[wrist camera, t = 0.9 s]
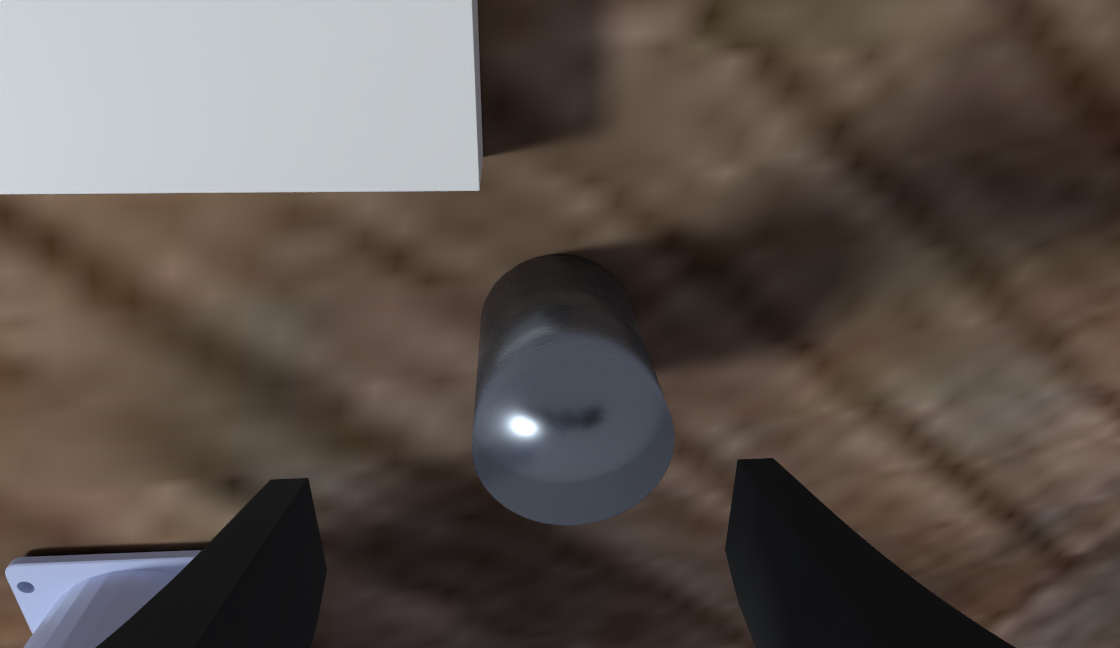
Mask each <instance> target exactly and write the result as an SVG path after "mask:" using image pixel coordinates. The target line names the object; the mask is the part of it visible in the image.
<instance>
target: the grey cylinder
mask: <svg viewBox="0 0 1120 648" xmlns="http://www.w3.org/2000/svg"><path fill="white" fill-rule="evenodd" d="M673 448H674V427H673V422H672V419H671V415H670V412H669V410H668V407H667V404H666V401H665V398H664V396H663V393H662V390H661V387H660V385H659V382H658V379H657V376H656V373H655V371H654V368H653V365H652V362H651V360H650V357H649V354H648V351H647V348H646V346H645V343H644V340H643V337H642V334H641V332H640V329H639V326H638V323H637V321H636V318H635V315H634V312H633V309H632V307H631V304H630V301H629V298H628V296H627V294H626V292H625V290H624V288H623V287H622V285H621V284H620V282H619V281H618V280H617V279H616V278H615V277H614V276H613V275H612V274H611V273H610V272H609V271H608V270H606V269H605V268H604V267H602V266H600V265H599V264H597V263H595V262H593V261H591V260H588V259H585V258H582V257H579V256H573V255H565V254H553V255H545V256H540V257H536V258H533V259H530V260H527V261H525V262H523V263H520V264H518V265H517V266H515V267H514V268H512V269H511V270H509V271H508V272H507V273H506V274H504V275H503V276H502V277H501V278H500V279H499V280H498V281H497V282H496V284H495V285H494V286H493V288H492V289H491V291H490V292H489V294H488V296H487V298H486V301H485V304H484V306H483V310H482V316H481V327H480V340H479V354H478V368H477V382H476V396H475V410H474V424H473V438H472V454H473V462H474V465H475V468H476V472H477V474H478V476H479V478H480V480H481V482H482V483H483V485H484V486H485V488H486V489H487V491H488V492H489V493H490V494H491V495H492V496H493V497H494V498H495V499H496V500H497V501H498V502H499V503H501V504H502V505H503V506H504V507H506V508H508V509H509V510H511V511H512V512H514V513H516V514H518V515H520V516H522V517H525V518H528V519H531V520H534V521H537V522H542V523H546V524H553V525H582V524H589V523H594V522H598V521H602V520H605V519H608V518H611V517H613V516H616V515H618V514H621V513H622V512H624V511H626V510H628V509H630V508H631V507H633V506H634V505H636V504H637V503H639V502H640V501H641V500H643V499H644V498H645V497H646V496H647V495H648V494H649V493H650V492H651V491H652V490H653V489H654V488H655V487H656V486H657V484H658V483H659V482H660V480H661V479H662V477H663V476H664V474H665V472H666V470H667V468H668V466H669V463H670V460H671V458H672V454H673Z"/></svg>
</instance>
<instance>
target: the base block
mask: <svg viewBox="0 0 1120 648" xmlns="http://www.w3.org/2000/svg"><path fill="white" fill-rule="evenodd" d="M482 163H483V141H482V113H481V86H480V59H479V32H478V5H477V0H0V194H87V193H225V192H363V191H479V189H480V180H481V172H482Z"/></svg>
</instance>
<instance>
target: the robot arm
mask: <svg viewBox="0 0 1120 648" xmlns="http://www.w3.org/2000/svg"><path fill="white" fill-rule="evenodd" d="M725 551H726V555H727V559H728V563H729V567H730V571H731V575H732V579H733V583H734V587H735V590H736V594H737V598H738V601H739V605H740V608H741V610H742V613H743V616H744V618H745V621H746V623H747V626H748V629H749V631H750V634H751V636H752V639H753V641H754V644H755V646H756V648H1015V647H1014V646H1012V645H1010V644H1008V643H1007V642H1005V641H1004V640H1002V639H1001V638H999V637H997V636H996V635H994V634H993V633H991V632H989V631H988V630H986V629H985V628H983V627H982V626H980V625H979V624H977V623H976V622H974V621H973V620H971V619H970V618H968V617H967V616H965V615H964V614H962V613H961V612H959V611H958V610H956V609H955V608H953V607H952V606H950V605H949V604H947V603H946V602H945V601H943V600H942V599H940V598H939V597H937V596H936V595H935V594H933V593H932V592H930V591H929V590H928V589H926V588H925V587H924V586H922V585H921V584H919V583H918V582H917V581H916V580H914V579H913V578H912V577H910V576H909V575H908V574H907V573H905V572H904V571H903V570H901V569H900V568H899V567H897V566H896V565H895V564H894V563H892V562H891V561H890V560H888V559H887V558H886V557H885V556H883V555H882V554H881V553H880V552H879V551H877V550H876V549H875V548H874V547H872V546H871V545H870V544H869V543H868V542H866V541H865V540H864V539H863V538H862V537H860V536H859V535H858V534H857V533H856V532H855V531H853V530H852V529H851V528H850V527H849V526H848V525H846V524H845V523H844V522H843V521H842V520H841V519H840V518H838V517H837V516H836V515H835V514H834V513H833V512H832V511H831V510H829V509H828V508H827V507H826V506H825V505H824V504H823V503H822V502H821V501H819V500H818V499H817V498H816V497H815V496H814V495H813V494H812V493H811V492H810V491H808V490H807V489H806V488H805V487H804V486H803V485H802V484H801V483H800V482H799V481H798V480H796V479H795V478H794V477H793V476H792V475H791V474H790V473H789V472H788V471H787V470H786V469H784V468H783V467H782V466H781V465H780V464H779V463H778V462H777V461H775V460H774V459H773V458H765V459H742V460H738V461H737V468H736V475H735V482H734V490H733V497H732V504H731V511H730V518H729V525H728V533H727V540H726V547H725ZM326 571H327V568H326V563H325V558H324V553H323V549H322V544H321V539H320V534H319V529H318V524H317V519H316V514H315V509H314V504H313V499H312V494H311V489H310V484H309V479H308V478H298V479H275V480H270V481H269V482H268V483H267V484H266V485H265V486H264V487H263V488H262V489H261V490H260V491H259V492H258V493H257V494H256V495H255V496H254V497H253V498H252V499H251V500H250V501H249V502H248V503H247V504H246V505H245V506H244V507H243V508H242V509H241V510H240V511H239V513H238V514H237V515H236V516H235V517H234V518H233V519H232V520H231V521H230V522H229V523H228V524H227V525H226V526H225V527H224V528H223V529H222V530H221V531H220V532H219V533H218V534H217V535H216V536H215V537H214V538H213V539H212V541H211V542H210V543H209V544H208V545H207V546H206V547H205V548H204V549H203V550H191V551H165V552H139V553H114V554H88V555H62V556H36V557H20V558H16V559H14V560H13V561H12V562H11V563H10V564H9V566H8V567H7V568H6V570H5V575H6V578H7V580H8V582H9V584H10V586H11V588H12V591H13V593H14V595H15V597H16V599H17V601H18V603H19V606H20V608H21V610H22V612H23V614H24V616H25V619H26V621H27V623H28V625H29V627H30V629H31V631H32V634H33V635H32V636H31V638H30V639H29V641H28V642H27V643H26V645H25V646H24V648H310V645H311V642H312V639H313V636H314V632H315V629H316V624H317V619H318V614H319V609H320V604H321V599H322V594H323V588H324V583H325V577H326Z"/></svg>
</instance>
